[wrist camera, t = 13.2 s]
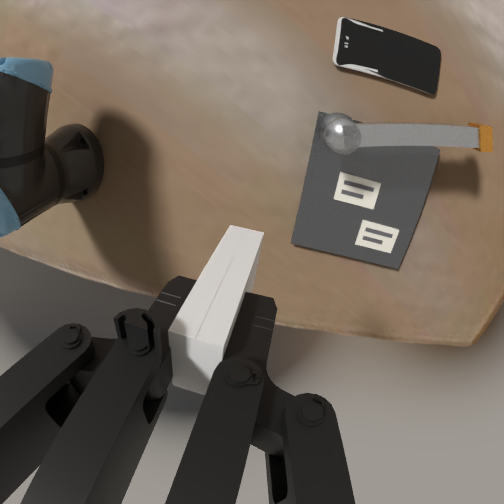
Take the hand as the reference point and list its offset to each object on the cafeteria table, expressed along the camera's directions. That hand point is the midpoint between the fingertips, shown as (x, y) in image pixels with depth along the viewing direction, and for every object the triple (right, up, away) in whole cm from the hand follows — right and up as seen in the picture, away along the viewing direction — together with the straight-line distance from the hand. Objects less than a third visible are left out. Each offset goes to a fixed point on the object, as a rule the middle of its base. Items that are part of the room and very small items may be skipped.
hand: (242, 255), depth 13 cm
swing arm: (+19, +14, +16) cm, 29 cm away
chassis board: (+17, +8, +26) cm, 32 cm away
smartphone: (+19, +27, +16) cm, 37 cm away
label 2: (+19, +2, +28) cm, 34 cm away
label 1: (+15, +9, +25) cm, 30 cm away
